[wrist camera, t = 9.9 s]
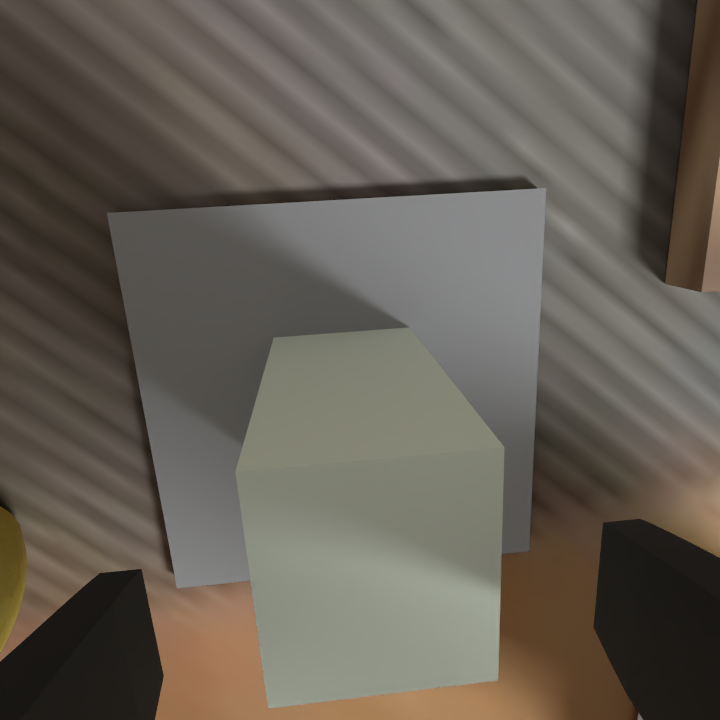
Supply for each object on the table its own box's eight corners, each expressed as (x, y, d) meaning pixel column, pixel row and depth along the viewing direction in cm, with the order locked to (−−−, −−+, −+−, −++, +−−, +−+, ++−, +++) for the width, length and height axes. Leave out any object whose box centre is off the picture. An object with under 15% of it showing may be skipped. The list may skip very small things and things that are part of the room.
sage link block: (413, 464, 17) (498, 680, 9) (288, 475, 17) (268, 708, 9) (409, 327, 16) (504, 447, 8) (273, 337, 15) (235, 472, 8)
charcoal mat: (523, 542, 19) (529, 551, 18) (180, 578, 18) (177, 588, 17) (538, 188, 15) (546, 187, 15) (113, 212, 14) (106, 212, 14)
